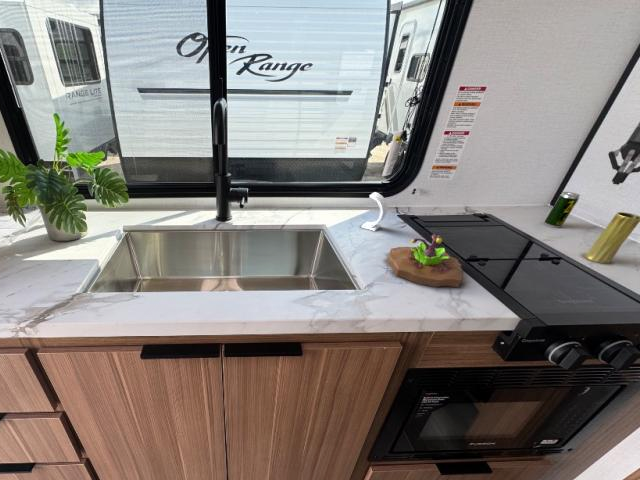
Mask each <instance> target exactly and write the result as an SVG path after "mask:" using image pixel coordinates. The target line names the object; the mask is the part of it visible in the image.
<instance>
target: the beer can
mask: <svg viewBox="0 0 640 480" xmlns="http://www.w3.org/2000/svg"><path fill="white" fill-rule="evenodd" d="M580 196H581V194H579V193H576V192H571V191H563V192H562V193H561V194H559V196H558V198H557V200H556V201H555V203H554V205H553V206H552V208H551V210H550V212H549V213H548V215H547V217H546V218H545V219H544V225H545V226H547V227H549V228H550V227H551V228H556V229H557V228H558V229H559V228H561V227H562V226H563V225H564V223H565V222H566V221H567V219H568V217H569V215H570V214H571V213H572V211H573V209H574V208H575V206H576V204H577V203H578V202H579V200H580Z"/></svg>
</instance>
